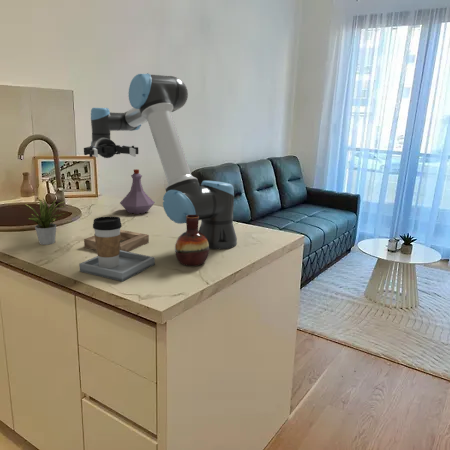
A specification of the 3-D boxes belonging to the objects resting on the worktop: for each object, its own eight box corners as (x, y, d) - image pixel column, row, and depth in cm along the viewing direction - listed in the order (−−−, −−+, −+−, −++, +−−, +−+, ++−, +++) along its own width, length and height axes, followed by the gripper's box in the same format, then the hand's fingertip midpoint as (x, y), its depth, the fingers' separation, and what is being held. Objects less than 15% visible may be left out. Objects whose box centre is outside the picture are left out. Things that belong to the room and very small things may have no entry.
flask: (136, 217, 192) (134, 173, 187) (112, 211, 202) (110, 169, 196) (162, 211, 205) (161, 169, 200) (138, 206, 214) (137, 166, 209)
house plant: (79, 241, 156) (76, 197, 152) (47, 251, 145) (43, 204, 140) (53, 234, 163) (50, 192, 159) (20, 243, 152) (16, 198, 147)
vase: (178, 269, 132) (178, 221, 128) (172, 257, 143) (172, 212, 139) (212, 266, 135) (213, 219, 131) (204, 255, 146) (205, 211, 142)
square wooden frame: (148, 242, 157) (148, 234, 157) (120, 254, 143) (120, 246, 143) (114, 236, 164) (114, 228, 163) (84, 247, 150) (83, 239, 149)
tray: (154, 264, 136) (154, 257, 135) (122, 281, 122) (122, 273, 121) (114, 256, 142) (114, 249, 141) (79, 271, 128) (79, 263, 127)
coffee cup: (113, 271, 127) (111, 222, 123) (89, 267, 129) (86, 219, 125) (128, 262, 134) (126, 216, 130) (104, 259, 137) (102, 213, 133)
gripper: (136, 156, 179) (149, 162, 160) (73, 157, 169) (80, 164, 150) (135, 138, 177) (149, 142, 158) (72, 138, 167) (79, 142, 148)
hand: (115, 153), depth 154 cm, fingers open, 13 cm apart
